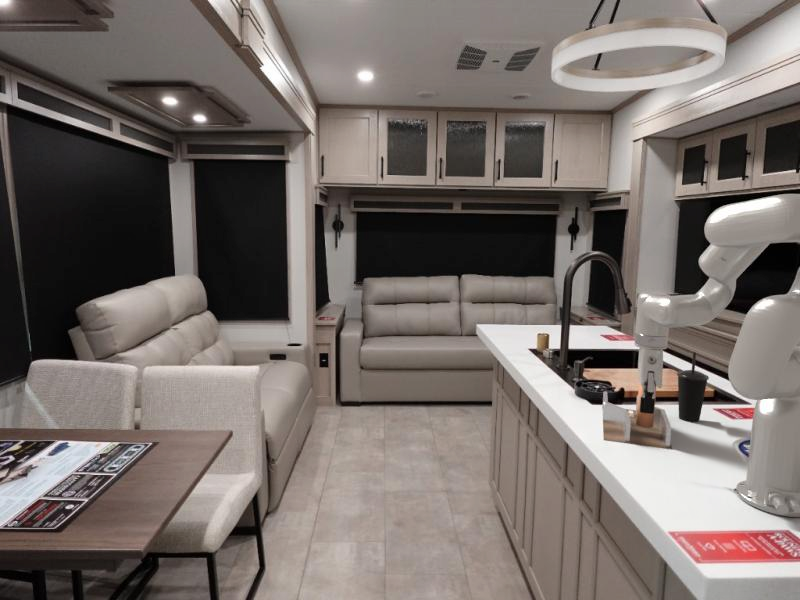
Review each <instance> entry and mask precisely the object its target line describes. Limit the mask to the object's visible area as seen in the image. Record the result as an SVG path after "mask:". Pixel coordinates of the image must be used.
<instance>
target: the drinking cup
mask: <svg viewBox="0 0 800 600" xmlns="http://www.w3.org/2000/svg"><path fill="white" fill-rule="evenodd" d="M696 358H697V352H692V362H691V369H685V370H681V371H678V372H676V375H677V385H678V387H677V389H678V390H677V392H678V393H677V395H678V396H677V397H678V399H677V400H678V418H679V420H680V421H683V422H688V423H699V421H700V419H701V414H702V409H703V403H704V398H705V393H706V388H707V383H708V380H709V378H710V377H709V376H708V375H707V374H705V373H703V372H701V371H698V370H695V369H696Z"/></svg>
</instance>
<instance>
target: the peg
mask: <svg viewBox="0 0 800 600" xmlns="http://www.w3.org/2000/svg"><path fill="white" fill-rule="evenodd" d="M638 382H639V381H638ZM645 385H646V386H648V384H646V383H645ZM642 389H643V386H641V385H640V382H639V383H638V394H637V395H638V406H637V419H636V424H637V425H638V426H640V427H644V428H652V427H653V422H654V413H653V414H649V413H641V412H640V401H641V397H642ZM645 390H647V388H645ZM656 393H657V386H656V383H655V397H654V398H655V399H656V395H657V394H656ZM655 405H656V403H655V404H654V409H655V407H656V406H655Z"/></svg>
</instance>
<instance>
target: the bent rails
mask: <svg viewBox="0 0 800 600" xmlns="http://www.w3.org/2000/svg"><path fill="white" fill-rule="evenodd" d="M602 395H603V397H602V406H603V409H602V421H603V420H606V421H608V422H610V423H612V424H615V425H617V426H619V427H621V428H623V430H624V437H625V441H626V442H629V441H630V427H631V421H630V416H629V410H630V409H629V410H626V409H627V408H624V407H622V406H618V405H616V404H614V403H611V402H609V401H608V400H609V399H608V398H609V397H608V391H606V390H605V391H603V394H602ZM635 404H636V405H635V410H636V415H637V406H638V394H636V402H635ZM653 426H656V427H658V428H659V429H660V432H661V435H662V438H663V442H664V445H665V447H669V448H670V443H671V439H672V438H671V436H672V426H671V423H670V420H669V417H668V414H667V412H666V410H665V409H663V408H660V407H657V406H655V409H654V422H653Z"/></svg>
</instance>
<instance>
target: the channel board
mask: <svg viewBox="0 0 800 600" xmlns="http://www.w3.org/2000/svg"><path fill="white" fill-rule="evenodd" d="M601 407H602V408H601V410H603V405H602V406H601ZM625 409H626V410H629V416H630V421H631V427H630V441H629V442H626V441H625V437H624V430H623V428H621V427H619V426H617V425H615V424H612V423H610V422H608V421H606V420H603V419H602V426H603V427H602V429H603V431H602V432H603V441H607V442H614V443H620V444H621V443H622V444H628V445H637V446H644V447H650V448H651V447H652V448H657V449H666V450H673V446H672V444H671V442H670V448H669V447H665V445H664V442H663V438H662V435H661V432H660V429H659V428H658V427H656V426H653V427H652V428H644V427H640V426H638V425H637V424H636V419H637V415H636V409H627V408H625Z"/></svg>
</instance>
